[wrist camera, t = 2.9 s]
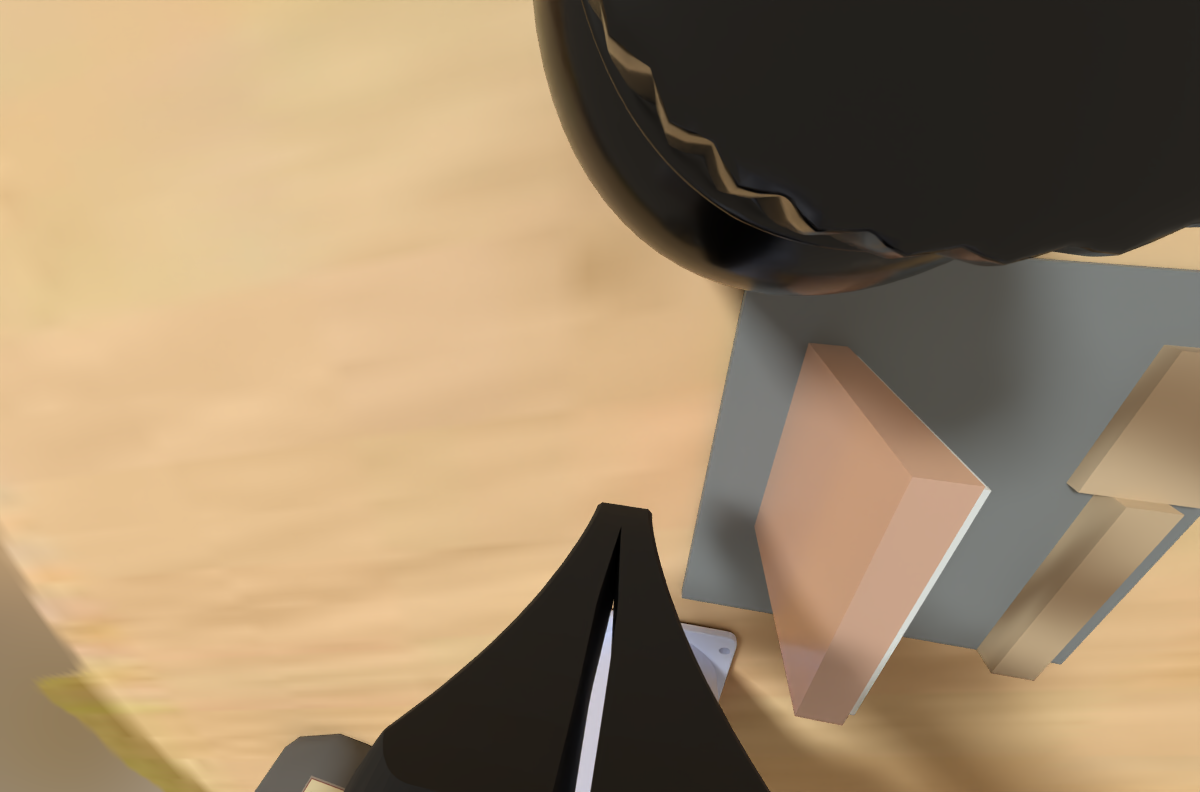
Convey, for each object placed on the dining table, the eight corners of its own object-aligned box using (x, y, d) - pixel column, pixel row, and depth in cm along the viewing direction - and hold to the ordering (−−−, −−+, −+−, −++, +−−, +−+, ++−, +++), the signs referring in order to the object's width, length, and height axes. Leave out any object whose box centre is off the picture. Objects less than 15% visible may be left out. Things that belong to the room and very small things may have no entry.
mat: (1053, 655, 19) (1061, 664, 18) (681, 590, 20) (681, 598, 20) (1389, 284, 11) (1412, 288, 11) (755, 237, 13) (757, 239, 13)
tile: (792, 532, 17) (854, 727, 11) (754, 526, 18) (794, 715, 11) (857, 347, 14) (1004, 489, 8) (808, 342, 14) (912, 476, 8)
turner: (1042, 661, 18) (1061, 685, 17) (951, 645, 19) (964, 668, 18) (1313, 358, 12) (1364, 373, 11) (1164, 344, 12) (1202, 358, 11)
